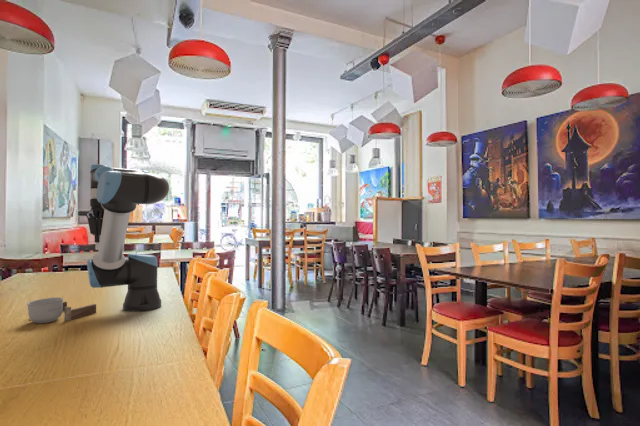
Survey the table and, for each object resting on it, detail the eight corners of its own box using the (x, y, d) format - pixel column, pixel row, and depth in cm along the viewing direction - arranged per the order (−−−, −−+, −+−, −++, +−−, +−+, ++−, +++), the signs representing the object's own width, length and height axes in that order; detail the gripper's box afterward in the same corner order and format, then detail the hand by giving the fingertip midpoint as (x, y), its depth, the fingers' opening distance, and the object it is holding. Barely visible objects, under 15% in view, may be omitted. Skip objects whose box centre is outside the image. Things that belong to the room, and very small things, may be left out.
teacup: (52, 324, 136) (53, 302, 136) (20, 325, 135) (20, 303, 135) (72, 315, 150) (72, 295, 150) (43, 315, 148) (43, 295, 149)
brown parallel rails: (96, 312, 153) (96, 300, 153) (67, 321, 141) (67, 307, 141) (64, 309, 158) (64, 298, 158) (33, 317, 146) (33, 304, 146)
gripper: (104, 199, 180) (104, 248, 179) (80, 197, 167) (80, 250, 167) (117, 199, 178) (117, 248, 177) (94, 197, 165) (93, 250, 165)
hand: (99, 249), depth 172 cm, fingers closed
